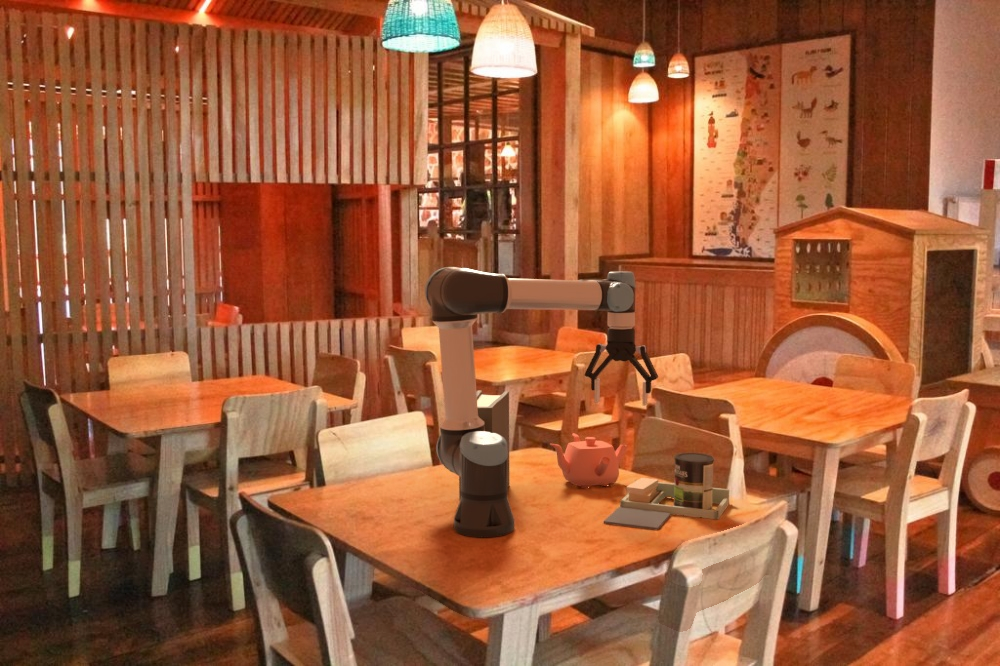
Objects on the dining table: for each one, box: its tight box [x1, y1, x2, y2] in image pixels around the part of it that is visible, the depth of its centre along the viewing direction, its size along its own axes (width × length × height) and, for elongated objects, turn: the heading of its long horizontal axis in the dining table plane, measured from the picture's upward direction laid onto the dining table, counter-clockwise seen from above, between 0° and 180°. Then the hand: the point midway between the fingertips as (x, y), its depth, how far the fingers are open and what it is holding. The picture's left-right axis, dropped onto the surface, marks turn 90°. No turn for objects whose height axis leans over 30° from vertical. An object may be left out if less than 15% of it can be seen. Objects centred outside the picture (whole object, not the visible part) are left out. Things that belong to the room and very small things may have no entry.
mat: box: [603, 506, 672, 531], centre depth 246 cm, size 14×14×1 cm
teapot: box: [549, 432, 628, 489], centre depth 280 cm, size 18×18×14 cm
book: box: [458, 389, 510, 502], centre depth 268 cm, size 22×9×28 cm, turn 167°
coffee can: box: [673, 452, 715, 510], centre depth 255 cm, size 10×10×14 cm
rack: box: [619, 477, 730, 520], centre depth 258 cm, size 16×26×5 cm, turn 67°
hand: (620, 403), depth 265 cm, fingers open, 13 cm apart
